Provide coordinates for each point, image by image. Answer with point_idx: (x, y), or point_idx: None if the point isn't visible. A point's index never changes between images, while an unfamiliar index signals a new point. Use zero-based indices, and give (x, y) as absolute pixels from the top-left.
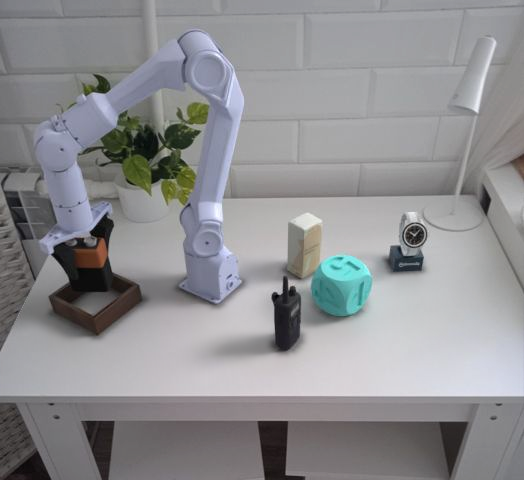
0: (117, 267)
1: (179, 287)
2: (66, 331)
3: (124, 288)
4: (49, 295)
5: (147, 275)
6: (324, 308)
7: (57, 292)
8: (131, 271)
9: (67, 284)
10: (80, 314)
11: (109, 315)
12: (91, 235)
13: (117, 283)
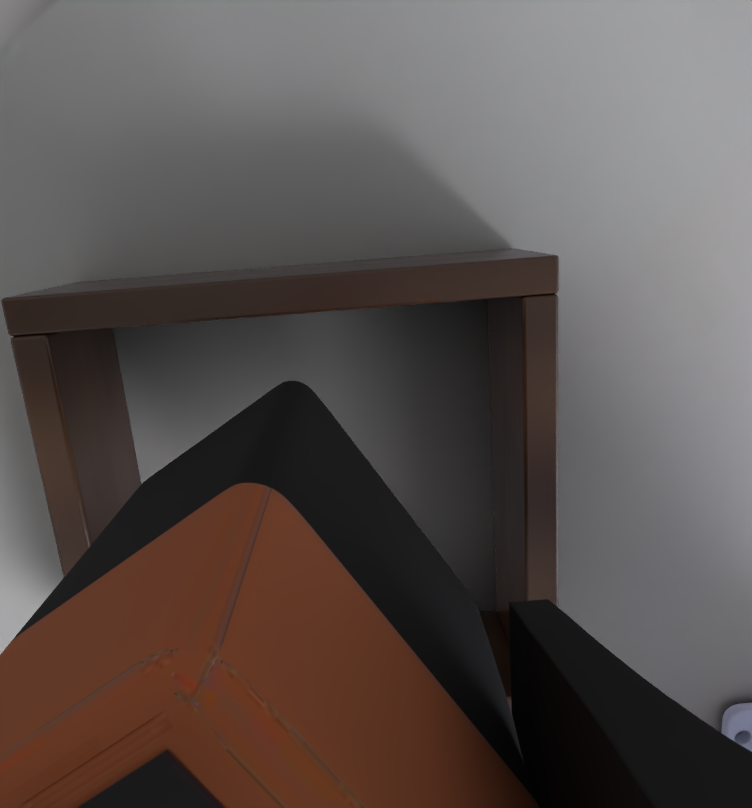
0: (696, 245)
1: (724, 714)
2: (35, 499)
3: (507, 560)
4: (13, 302)
5: (727, 480)
6: None
7: (87, 322)
8: (709, 364)
9: (211, 302)
10: None
11: None
12: (628, 790)
13: (510, 509)
